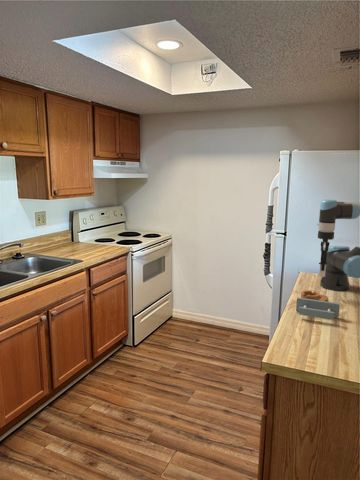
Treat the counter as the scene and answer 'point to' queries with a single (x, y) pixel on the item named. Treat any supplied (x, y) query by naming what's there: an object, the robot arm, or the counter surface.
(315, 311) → the plate
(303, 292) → the bracket
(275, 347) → the counter surface
